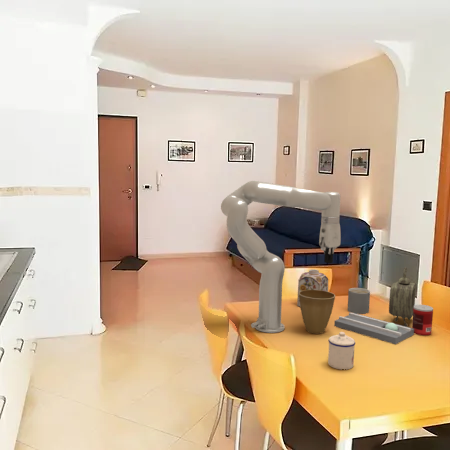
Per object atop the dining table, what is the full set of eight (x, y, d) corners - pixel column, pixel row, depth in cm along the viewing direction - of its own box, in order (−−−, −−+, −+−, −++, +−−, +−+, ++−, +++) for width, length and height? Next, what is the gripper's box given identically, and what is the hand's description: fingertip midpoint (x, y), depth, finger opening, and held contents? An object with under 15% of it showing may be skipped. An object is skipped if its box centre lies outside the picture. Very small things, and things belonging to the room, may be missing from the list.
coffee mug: (371, 314, 224) (372, 293, 222) (350, 313, 224) (351, 293, 222) (363, 305, 237) (364, 286, 236) (343, 305, 237) (344, 285, 236)
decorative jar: (318, 310, 228) (320, 273, 226) (296, 306, 234) (297, 270, 232) (328, 304, 238) (329, 269, 236) (306, 300, 244) (307, 266, 242)
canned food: (431, 331, 202) (433, 306, 201) (431, 337, 195) (433, 311, 193) (412, 328, 205) (414, 303, 204) (411, 334, 198) (412, 308, 196)
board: (334, 326, 206) (334, 318, 206) (353, 318, 217) (354, 310, 217) (395, 344, 186) (396, 335, 186) (413, 334, 197) (414, 326, 197)
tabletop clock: (409, 328, 204) (413, 271, 201) (387, 325, 208) (390, 269, 205) (413, 319, 217) (417, 265, 214) (392, 316, 221) (396, 263, 218)
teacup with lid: (358, 370, 162) (359, 337, 161) (332, 370, 161) (333, 337, 160) (345, 355, 174) (347, 325, 173) (321, 356, 173) (322, 325, 172)
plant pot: (333, 338, 191) (335, 299, 189) (296, 335, 194) (297, 297, 192) (333, 326, 206) (334, 290, 204) (298, 323, 209) (299, 288, 207)
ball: (395, 337, 193) (389, 326, 193) (386, 337, 197) (380, 326, 197) (402, 330, 196) (396, 320, 195) (392, 331, 200) (387, 320, 200)
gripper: (327, 222, 197) (325, 266, 199) (347, 220, 207) (345, 261, 209) (312, 221, 202) (311, 263, 204) (332, 218, 212) (330, 259, 215)
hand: (328, 262), depth 207 cm, fingers closed
